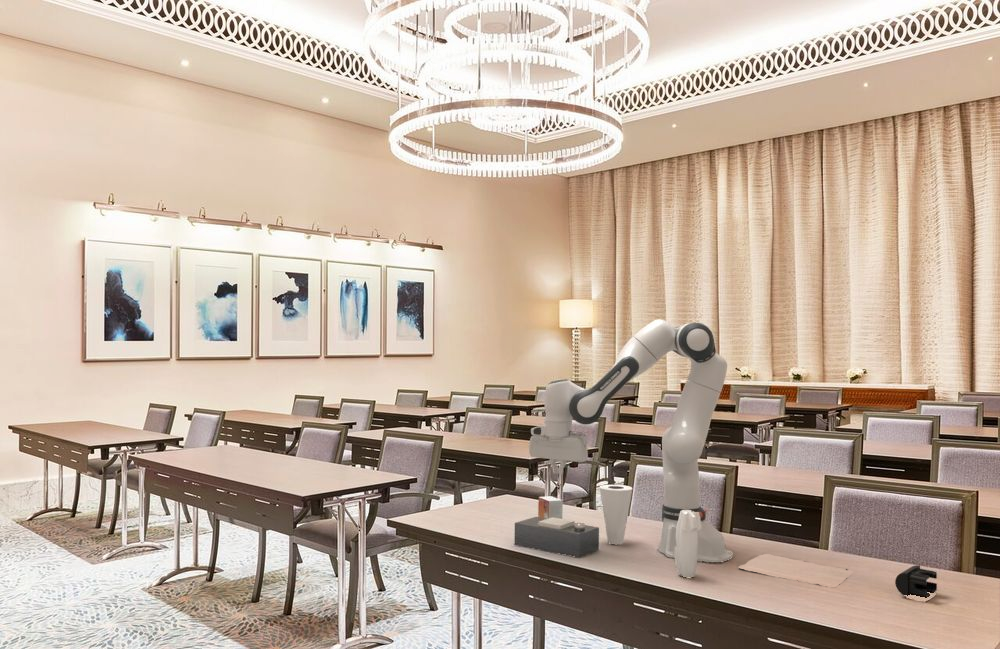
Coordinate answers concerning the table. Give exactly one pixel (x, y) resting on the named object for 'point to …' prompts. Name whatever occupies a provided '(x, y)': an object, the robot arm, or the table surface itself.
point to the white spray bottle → (687, 542)
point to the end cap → (916, 582)
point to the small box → (550, 507)
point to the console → (557, 537)
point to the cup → (615, 510)
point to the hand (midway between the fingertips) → (558, 473)
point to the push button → (556, 523)
